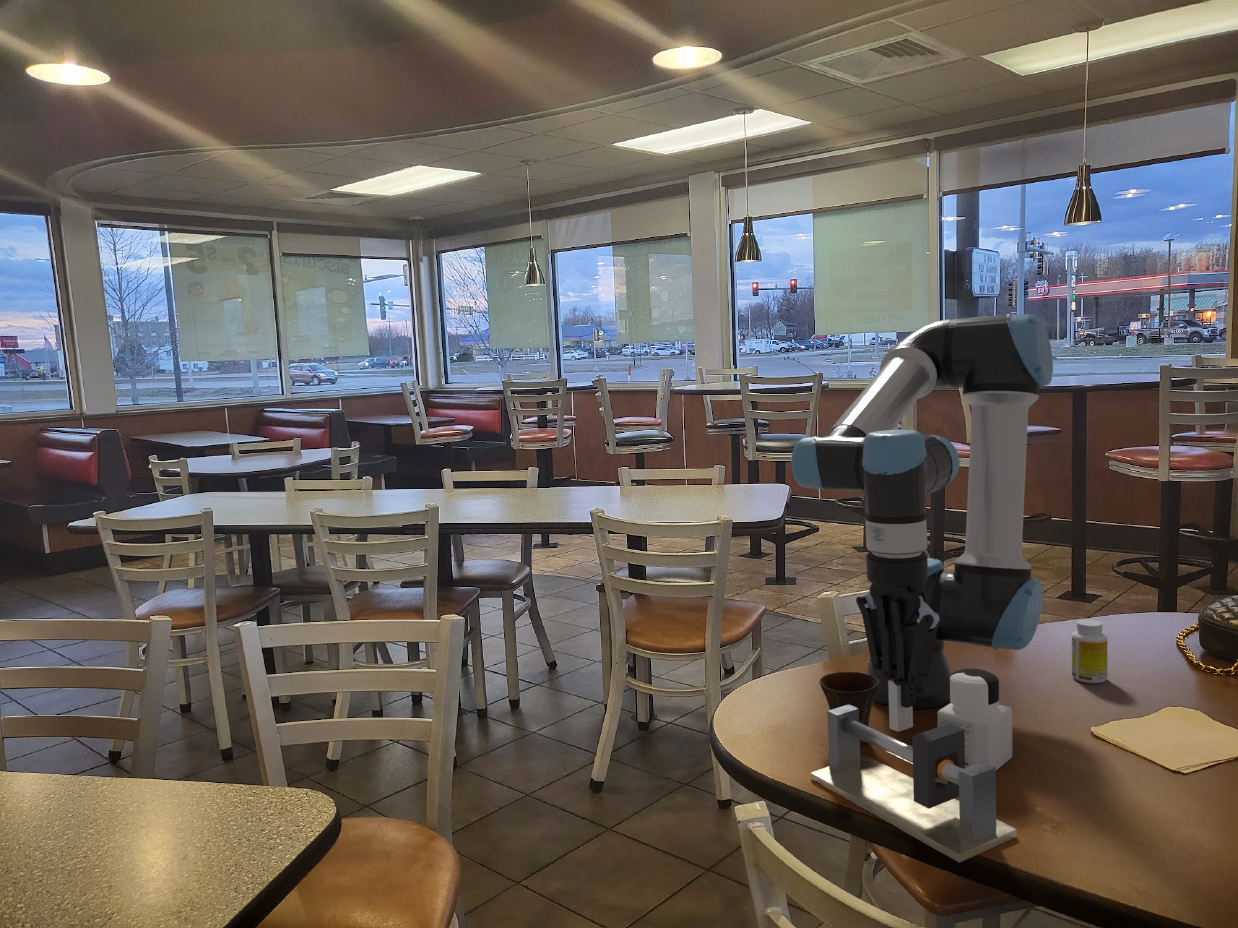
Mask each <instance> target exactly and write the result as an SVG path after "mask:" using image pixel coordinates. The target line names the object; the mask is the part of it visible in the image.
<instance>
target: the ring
mask: <svg viewBox="0 0 1238 928" xmlns="http://www.w3.org/2000/svg"><path fill="white" fill-rule="evenodd" d="M911 741H912V746H913V764H912V774H913V776H912V778H913V787H914V801H915V802H916V803H918V804H920V805H922V806H924V807H926V808H928V809H930V808H932V807H935V806H937V805H940V804H942V803H945V802H947V801H950V800H952V799H957V798H959V785H957V784H955V783H953V782H950V781H948V782H944V781H942V780H940V779H937V778H935V759H938V758H941V757H944V758H946V759H949V760H951V761H952V762H953V763H954V765H955V766H957V767H959V768H962V769H963V768H965V733H964V729H962V728H959V727H957V726H954V725H952V724H946V725H943V726H940V727H938V726H937V727H935V728H933V729H929V730H926V731H922V732H919V733H917V734H914V735H912V737H911Z"/></svg>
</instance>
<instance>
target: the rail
mask: <svg viewBox="0 0 1238 928" xmlns="http://www.w3.org/2000/svg"><path fill="white" fill-rule="evenodd" d="M827 734H828V735H827V736H828V737H827V738H828V742H827V743H828V766H826V767H823V768H821V769H818V770H814V771H812V772H810V778H811V777H812V778H813V779H815V780H817V781H818V782H820V783H821V784H823V785H825V786H827V787H829V788H831V789H832V790H833V791H835V792H837V793H838V794H840V795H842V796H843V797H844V798H843V797H842V798H843V799H845V798H846V799H845V800H847V801H849V800H850V801H851V802H850V801H849V802H850V803H852V802H853V803H852V804H854V803H855V804H854V805H855V806H857V807H859V806H860V807H859V808H861V807H862V808H861V809H863V808H864V809H863V810H864V811H866V810H867V811H866V812H868V811H869V813H870V812H871V813H870V814H872V813H873V814H872V815H874V814H875V815H876V816H875V815H874V816H875V817H877V816H878V817H877V818H879V817H880V818H879V819H881V818H882V819H884V820H885V822H886V821H887V822H886V823H888V822H889V823H888V824H890V823H891V824H893V825H894V827H895V826H896V827H895V828H897V827H898V828H897V829H899V830H900V829H901V830H900V831H902V832H904V833H905V834H908V835H909V836H911V837H913V838H915V839H917V840H918V841H921V842H922V843H924V844H926V845H927V846H929V847H931V848H933V849H934V850H936V851H938V852H940V853H942V854H943V855H945V856H947V857H949V858H951V860H954V861H955V862H958V863H962V862H964V861H966V860H969V859H970V858H973V857H975V856H978V855H980V854H982V853H984V852H986V851H988V850H990V849H992V848H996V847H998V846H999V845H1002V844H1004V843H1006V842H1008V841H1011V840H1013V839H1015V838H1017V836H1018V835H1017V833H1018V831H1017V828H1015V827H1013V826H1011V825H1008V824H1007V823H1005V822H1003V821H1001V820H999V819H997V775H996V774H997V772H996V771H997V770H996V767H993V766H991V765H989V764H986V763H984V762H979V763H977V764H974V765H971V766H969V767H966V768H963V769H962V768H959V767H957V766H955V765H954V763H953V762H952V761H951V760H949V759H946V758H944V757H941V758H938V759H935V778H937V779H940V780H942V781H944V782H948V781H950V782H953V783H955V784H957V785H959V797H958V799H959V800H958V799H957V798H955V799H952V800H950V801H947V802H945V803H942V804H940V805H937V806H935V807H932V808H930V809H928V808H926V807H924V806H922V805H920V804H918V803H916V802H915V801H914V787H913V777H911V776H909V775H906V774H904V773H903V772H901V771H898V770H896V769H894V768H892V767H890V766H888V765H886V764H884V763H882V762H880V761H879V760H876V759H874V758H871V757H870V756H868V755H865V754H861V744H860V739H861V740H863V741H865V742H864V743H868V744H870V745H872V746H873V747H876V748H878V749H881V750H883V751H885V752H887V753H889V754H890V755H893V756H895V757H897V758H899V759H902V760H904V761H905V762H908V763H910V764H912V765H913V745H910V744H908V743H906V742H904V741H901V740H899V739H897V738H894V737H892V736H890V735H888V734H885V733H883V732H881V731H879V730H877V729H874V728H872V727H870V726H869V725H868V726H866V725H863V724H861V723H859V709H858V708H856V707H854V706H851V705H849V704H848V705H845V706H842V707H839V708H835V709H832V710H830V709H829V710H827ZM833 791H832V792H833ZM838 794H837V795H838ZM840 795H839V796H840ZM882 819H881V820H882ZM884 820H883V821H884ZM891 824H890V825H891ZM893 825H892V826H893Z"/></svg>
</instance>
